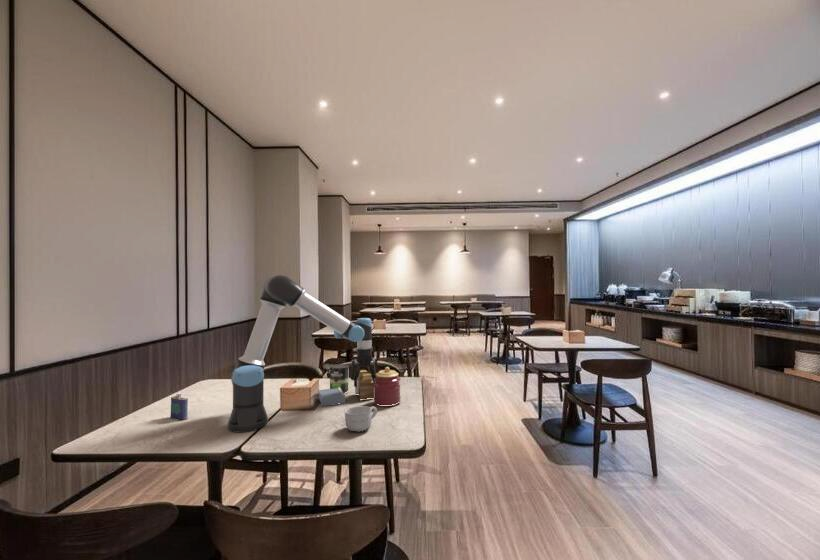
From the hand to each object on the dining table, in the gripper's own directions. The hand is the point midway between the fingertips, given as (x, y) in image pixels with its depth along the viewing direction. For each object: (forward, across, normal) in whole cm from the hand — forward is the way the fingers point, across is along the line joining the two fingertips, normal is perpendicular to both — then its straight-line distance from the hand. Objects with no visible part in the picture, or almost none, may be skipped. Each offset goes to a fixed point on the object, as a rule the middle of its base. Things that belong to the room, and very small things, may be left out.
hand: (364, 392), depth 187 cm
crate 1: (-6, 0, -4) cm, 7 cm away
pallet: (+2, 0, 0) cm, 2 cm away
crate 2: (-6, 0, +4) cm, 7 cm away
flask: (+3, +83, 0) cm, 83 cm away
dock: (+2, +17, 0) cm, 17 cm away
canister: (+3, -8, +14) cm, 16 cm away
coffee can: (+3, +11, -13) cm, 17 cm away
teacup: (+3, +11, +41) cm, 43 cm away
